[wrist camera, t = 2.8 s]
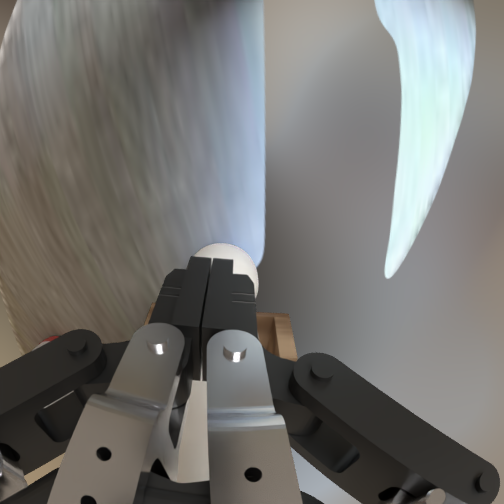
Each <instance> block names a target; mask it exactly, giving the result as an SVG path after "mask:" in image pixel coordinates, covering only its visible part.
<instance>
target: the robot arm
mask: <svg viewBox="0 0 504 504" xmlns="http://www.w3.org/2000/svg"><path fill="white" fill-rule="evenodd" d="M211 266H212V267H211ZM201 370H202V381H207V432H208V460H209V480H208V481H200V482H191V483H178V482H176V480H177V474H178V464H179V461H178V457H179V449H180V444H181V439H182V435H183V430H184V425H185V421H186V416H187V411H188V407H189V402H190V394H191V388H192V380H195V381H200V379H201ZM72 391H73V392H72ZM70 392H72V393H70ZM68 393H70V394H68ZM67 394H68V395H67ZM65 395H67V396H65ZM63 396H65V397H63ZM62 397H63V398H62ZM60 398H62V399H60ZM58 399H60V400H58ZM56 400H58V401H56ZM55 401H56V402H55ZM53 402H55V403H53ZM51 403H53V404H51ZM50 404H51V405H50ZM48 405H49V406H48ZM46 406H48V407H46ZM44 407H46V408H44ZM290 446H291V447H292V448H293V449H294V450H295V451H296V452H297V453H299V454H300V455H301V456H302V457H303V458H304V459H306V460H307V461H308V462H309V463H310V464H311V465H313V466H314V467H315V468H316V469H318V470H319V471H320V472H321V473H322V474H324V475H325V476H326V477H327V478H329V479H330V480H331V481H332V482H334V483H335V484H336V485H338V486H339V487H340V488H342V489H343V490H344V491H345V492H347V493H348V494H350V495H351V496H352V497H354V498H355V499H356V500H358V501H359V502H361V503H362V504H491V503H492V501H494V499H495V498H496V496H497V494H498V491H499V487H500V478H499V474H498V472H497V470H496V468H495V467H494V466H493V465H492V464H491V463H489V462H487V461H486V460H484V459H483V458H481V457H479V456H478V455H476V454H474V453H472V452H471V451H470V450H468V449H466V448H465V447H463V446H462V445H460V444H459V443H457V442H456V441H454V440H452V439H451V438H449V437H448V436H446V435H445V434H443V433H442V432H440V431H439V430H437V429H436V428H434V427H433V426H431V425H430V424H428V423H427V422H425V421H424V420H422V419H421V418H419V417H418V416H416V415H415V414H414V413H412V412H410V411H409V410H408V409H406V408H405V407H403V406H402V405H400V404H399V403H398V402H396V401H395V400H393V399H392V398H390V397H389V396H388V395H386V394H385V393H383V392H382V391H380V390H379V389H378V388H376V387H375V386H373V385H372V384H371V383H369V382H368V381H366V380H365V379H364V378H362V377H361V376H360V375H358V374H357V373H355V372H354V371H353V370H351V369H350V368H348V367H347V366H346V365H344V364H343V363H342V362H340V361H339V360H338V359H336V358H334V357H333V356H330V355H327V354H324V353H309V354H306V355H304V356H302V357H300V358H299V359H298V360H297V361H296V362H295V361H292V360H288V359H284V358H281V357H278V356H276V355H273V354H272V353H270V352H268V351H267V350H266V349H265V348H264V347H263V346H262V345H261V343H260V341H259V339H258V331H257V317H256V304H255V289H254V283H253V281H252V280H251V279H250V277H249V276H248V275H246V274H233V259H221V258H213V261H212V258H208V257H196V256H191V257H190V260H189V264H188V267H187V270H185V269H174V270H173V271H172V272H171V273H169V274H168V275H167V276H166V278H165V280H164V283H163V285H162V288H161V290H160V293H159V296H158V298H157V301H156V304H155V306H154V309H153V312H152V314H151V317H150V320H149V322H148V324H147V325H145V326H143V327H141V328H139V329H138V330H137V331H136V332H135V333H134V335H133V336H132V338H131V340H129V341H126V342H120V343H109V344H102V343H101V340H100V338H99V337H98V336H97V335H96V334H95V333H94V332H92V331H89V330H84V329H78V330H73V331H70V332H68V333H66V334H64V335H62V336H60V337H58V338H56V339H54V340H52V341H50V342H48V343H46V344H44V345H42V346H41V347H39V348H37V349H35V350H33V351H31V352H29V353H27V354H25V355H23V356H22V357H20V358H18V359H16V360H14V361H12V362H10V363H8V364H7V365H5V366H3V367H1V368H0V504H324V503H322V502H321V501H319V500H317V499H316V498H315V497H312V496H311V495H309V494H307V493H305V492H302V491H300V489H299V484H298V480H297V475H296V471H295V466H294V461H293V457H292V452H291V448H290ZM63 453H65V455H64V457H63V460H62V462H61V465H60V467H59V468H57V469H55V470H53V471H51V472H50V473H48V474H46V475H45V476H43V477H42V478H40V479H38V480H37V481H35V482H34V483H32V484H30V485H29V486H28V485H27V482H26V480H25V479H24V475H26V474H28V473H30V472H32V471H34V470H35V469H37V468H39V467H41V466H42V465H44V464H46V463H48V462H49V461H51V460H53V459H54V458H56V457H58V456H59V455H61V454H63Z"/></svg>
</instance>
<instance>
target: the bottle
mask: <svg viewBox="0 0 504 504" xmlns="http://www.w3.org/2000/svg"><path fill="white" fill-rule="evenodd" d="M194 256H196V257H208V258H212V261H213V258H221V259H233V274H246V275H248V276H249V277H250V279H251V280H252V281H253V283H254V289H255V298H256V296H257V293H258V274H257V270H256V267H255V264H254V262H253V261H252V259H251V258H250V256H249V255H248V254H247V253H246V252H245V251H244V250H242V249H241V248H239V247H237V246H235V245H231V244H226V243H216V244H212V245H208V246H206V247H204V248H202V249H200V250H199V251H198V252H197V253H196V254H195V255H194ZM187 267H188V266H187ZM211 267H212V266H211ZM186 270H187V269H186ZM258 339H259V337H258ZM178 461H179V464H178V474H177V480H176V482H178V483H191V482H200V481H208V480H209V460H208V432H207V381H202V370H201V379H200V381H195V380H192V388H191V394H190V402H189V407H188V411H187V416H186V421H185V425H184V430H183V435H182V439H181V444H180V449H179V457H178Z"/></svg>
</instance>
